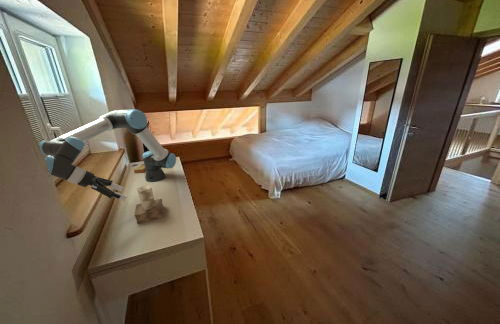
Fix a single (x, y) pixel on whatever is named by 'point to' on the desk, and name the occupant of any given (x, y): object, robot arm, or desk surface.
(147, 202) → the oak block
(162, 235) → the desk surface
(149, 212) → the walnut box
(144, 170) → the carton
